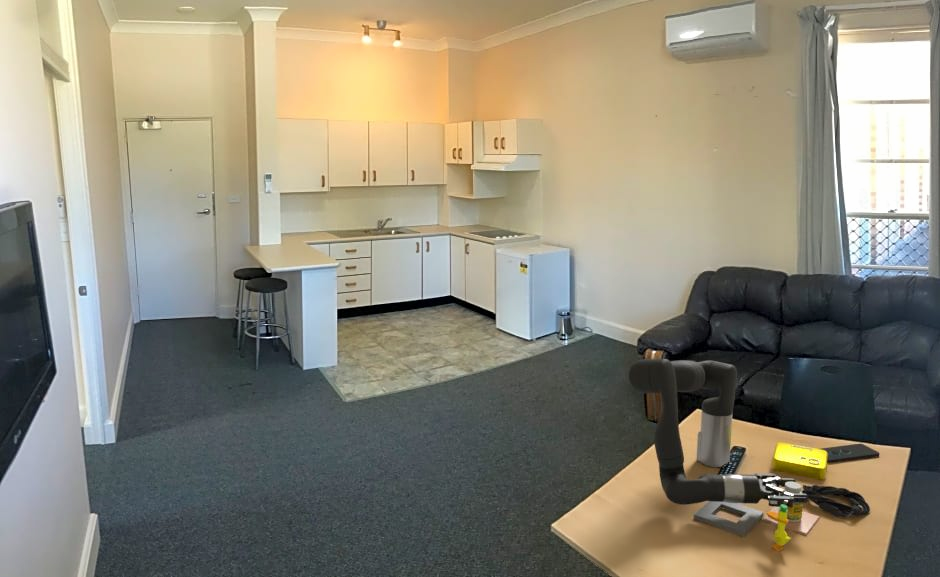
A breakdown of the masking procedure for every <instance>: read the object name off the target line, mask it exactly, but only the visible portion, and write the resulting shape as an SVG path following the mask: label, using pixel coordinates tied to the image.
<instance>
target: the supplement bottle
mask: <svg viewBox="0 0 940 577" xmlns="http://www.w3.org/2000/svg"><path fill="white" fill-rule="evenodd" d="M783 489H784V491H785V492H788V493H791V494H793V493H795V494H803V493H802V485H801V484H800V483H798V482H786V483H785V487H784V488H783ZM784 496H785V495H784ZM787 497H788V496H787ZM784 503H785V502H784ZM803 507H804V503H796V502H794V503H793V507H787V510H788V512H787V519H788V520H789V521H790V522H799V521H800V520H801V519H802V511H803Z"/></svg>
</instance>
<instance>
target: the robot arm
mask: <svg viewBox="0 0 940 577" xmlns="http://www.w3.org/2000/svg"><path fill="white" fill-rule="evenodd" d="M628 381H629V382H628V383H629V384H630V386H631V387H632V388H633V390H635V391H636V392H638V393H641V394H660V396H661V401H662V408H661V409H662V410H661V413H660V415H659V417H658V418H659V419H658V421H657V424H656V426H655V429H654V432H653V443H654V448H655V453H656V457H657V461H658V469H659V479H660V484H661V488H662V490H663V491H664V493H665V496H666V497H667V499H668V500H669V501H670V502H671V503H674V504H676V505H681V506H682V505H684V506H685V505H687V506H688V505H694V504H699V503H703V502H708V501H714V502H728V503H738V504H751V505H752V504H754V505H755V504H758V503H760V501H761V500H766V501H768V506H769V507H771V508H773V507H781V504H784V505H786V506H787V507H793V503H794V502H796V503H803V504H806V503H808V501H809V500H808V499H809V498H808V495H807V494H803V493H802V494H795V493H793V494H791V493H788V492H785V491H784V489H785V483H786V482H796V479H794V478H789V477H788V478H786V477H785V478H783V477H782V478H781V476H777V475H776V474H775V473H760V472H759V473H753V474H740V473H739V474H735V473H732V474H731V473H727V474H702V475H700V476H699V477H698V478H696V479H695V478H693V479H687V475H686V473H685V472H686V471H685V466H684V462H685V455H684V450H683V446H682V440H681V436H680V428H679V410H678V404H679V403H678V392H679V393H692V392H696V391H698V390H700V389H701V388H703V389H705V390H710V391H713V392H718V393H719V396H717V397H709V398H706V399H704V400H703V401H702V403H701V418H700V419H701V420H700V431H698V433H697V442H696V443H697V444H696V445H697V446H696V458H695V459H696V461H698V462H700V463H701V464H702V465H705V466H707V467H711V468H717V467H721V466H722V465H724V464H725V463H727V462H729V463H730V459H731V458H730V457H731V444H732V443H731V442H732V441H731V440H732V430H733V429H732V428H733V412H734V405H735V399H736V397H735V396H736V389H737V381H738V371H737V367H736V366H735V365H733V364H730V363H725V362H720V361H716V360H710V359H708V360H702V361H698V362H697V361H695V360H686V359H684V360H683V359H679V360H669V359H667V358H646V359H645V358H644V359H643V358H642V359H638V360H636V361H635V362H633V363H632V365H631V366H630V367H629V371H628ZM717 469H718V468H717ZM796 483H797V482H796ZM780 487H781V488H780ZM784 495H785V496H784ZM787 496H788V497H787ZM784 502H785V503H784Z"/></svg>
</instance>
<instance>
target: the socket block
mask: <svg viewBox="0 0 940 577" xmlns="http://www.w3.org/2000/svg"><path fill="white" fill-rule="evenodd" d="M721 509H723V510H727V511H728V512H731V513H735V514H738V515H741V516H742V517H741V518H740V519H738V521H737V522H735V521H733V520H729V519H726V518H724V517H721V516H718V515H716V514H717V512H719V511H720V510H721ZM763 518H764V511H761V510H758V509H756V508H753V507H749V506H746V505H743V504H742V503H728V502H714V501H706V503H705V504H704V505H703V506H702V507H701V508H699V509H698V510H697V511H695V513H694V514H693V519H694V520H698V521H701V522H703V523H705V524H707V525H711V526H714V527H717V528H719V529H722V530H724V531H728V532H730V533H733V534H734V535H735V534H736V535H737V536H741V537H743V538H744V537H745V536H747V534H748V533H749V532H750V531H751V530H752V529H753V528H754V526H756V525H757V523H758V522H760V520H762V519H763Z"/></svg>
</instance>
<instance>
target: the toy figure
mask: <svg viewBox="0 0 940 577" xmlns="http://www.w3.org/2000/svg"><path fill="white" fill-rule="evenodd" d="M778 509H779V510H778V513H775V512H772V511H770V510H769V511H765V515H766V514H767V515H768V517H769V518H771V519H773V520H775V521H777V522H778V525H777V529H776V530H775V531H774V537H773V538H774V539H773V540H774V542H775V544H773V545H772V546H771V548H772V549H773V550H776V551H778V552H780V551H782V550H783V549H784V548H783V546H784V545H786V544H787V543H788V542H790V540H791V539H792V538H791V536H788V533H787V532H786V531H785V529H786V528H785V526H786V524H788V522H789V520H788V519H787V512H788V510H787V506H786V505H784V504H781V507H779V508H778Z"/></svg>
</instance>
